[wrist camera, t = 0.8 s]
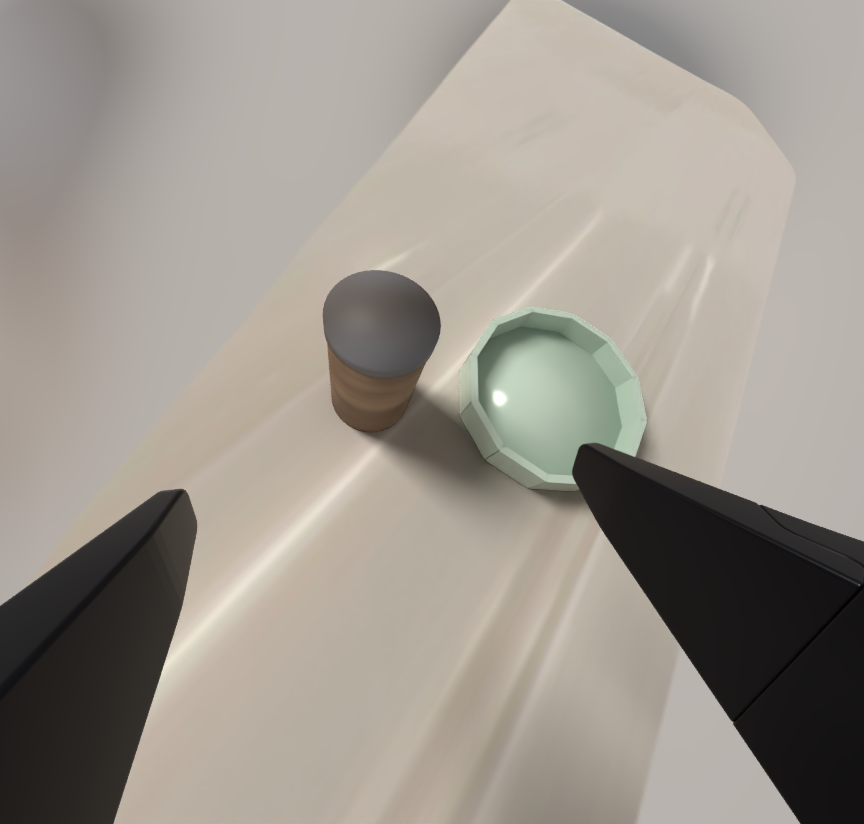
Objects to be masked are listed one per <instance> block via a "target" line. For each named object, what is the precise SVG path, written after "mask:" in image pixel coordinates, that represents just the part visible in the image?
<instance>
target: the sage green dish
mask: <svg viewBox="0 0 864 824" xmlns="http://www.w3.org/2000/svg"><path fill="white" fill-rule="evenodd" d="M459 403H460V417H461V419H462V421H463V422H464V424H465V426H466V428H467V429H468V431H469V433H470V435H471V437H472V438H473V440H474V442H475V444H476V445H477V447H478V449H479V451H480V453H481V454H482V456H483V458H484V459H486V461H487V462H489V463H490V464H492V465H493V466H495V467H496V468H498V469H499V470H501V471H502V472H504V473H505V474H507V475H508V476H510V477H511V478H513V479H514V480H516V481H517V482H519V483H520V484H522V485H523V486H525V487H526V488H529V489H545V490H561V491H577V490H579V488H578V486H577V484H576V483H575V481H574V479H573V476H572V468H573V465H574V461H575V458H576V455H577V451H578V449H579V447H580V446H581V445H582V444H586V443H599V444H602V445H605V446H607V447H610V448H613V449H615V450H618V451H621V452H623V453H626V454H628V455H631V456H634V457H635V456H636V453H637V450H638V447H639V444H640V441H641V438H642V435H643V432H644V430H645V427H646V424H647V418H646V413H645V408H644V403H643V398H642V393H641V388H640V383H639V378H638V376H637V374H636V373H635V372H634V370H633V369H632V367H631V366H630V365H629V363H628V362H627V360H626V359H625V357H624V356H623V355H622V353H621V352H620V350H619V349H618V347H617V346H616V345H615V343H614V342H613V340H612V339H611V338H610V337H608V336H607V335H605V334H604V333H602V332H601V331H599V330H598V329H596V328H594V327H593V326H591V325H590V324H588V323H587V322H585V321H584V320H582V319H581V318H579V317H578V316H576V315H575V314H572V313H569V312H563V311H557V310H551V309H545V308H539V307H533V306H531V307H530V306H529V307H526V308H524V309H521V310H518V311H515V312H513V313H510V314H507V315H505V316H502V317H499V318H496V319H494V320H492V322H491V323H490V325H489V326H488V328H487V329H486V331H485V332H484V334H483V335H482V337H481V338H480V340H479V341H478V343H477V344H476V346H475V347H474V349H473V350H472V352H471V353H470V355H469V356H468V358H467V360H466V361H465V363H464V364H463V366H462V367H461V369H460V371H459Z"/></svg>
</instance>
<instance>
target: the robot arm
mask: <svg viewBox="0 0 864 824" xmlns="http://www.w3.org/2000/svg"><path fill="white" fill-rule="evenodd" d="M572 476H573V479H574V481H575V483H576V484H577V486H578V488H579V490H580V492H581V493H582V495H583V497H584V499H585V501H586V503H587V504H588V506H589V508H590V510H591V512H592V513H593V515H594V517H595V519H596V521H597V522H598V524H599V526H600V528H601V529H602V531H603V532H604V534H605V535H606V537H607V538H608V540H609V541H610V543H611V544H612V546H613V547H614V549H615V550H616V552H617V553H618V555H619V556H620V558H621V559H622V561H623V562H624V564H625V565H626V566H627V568H628V569H629V571H630V572H631V574H632V575H633V577H634V578H635V580H636V581H637V583H638V584H639V586H640V587H641V589H642V590H643V592H644V593H645V594H646V596H647V597H648V599H649V600H650V602H651V603H652V605H653V606H654V608H655V609H656V611H657V612H658V614H659V615H660V617H661V618H662V620H663V621H664V622H665V624H666V625H667V627H668V628H669V630H670V631H671V633H672V634H673V636H674V637H675V639H676V640H677V642H678V643H679V645H680V646H681V648H682V649H683V650H684V652H685V653H686V655H687V656H688V658H689V659H690V661H691V662H692V664H693V665H694V667H695V668H696V669H697V671H698V673H699V674H700V676H701V677H702V678H703V680H704V681H705V683H706V684H707V686H708V687H709V689H710V690H711V692H712V693H713V695H714V696H715V698H716V699H717V701H718V702H719V704H720V705H721V706H722V708H723V709H724V711H725V712H726V714H727V715H728V717H729V718H730V720H731V721H733V725H734V726H735V728H736V729H737V730H738V732H739V734H740V735H741V737H742V738H743V739H744V741H745V742H746V744H747V745H748V747H749V748H750V750H751V751H752V753H753V754H754V756H755V757H756V759H757V760H758V762H759V763H760V765H761V766H762V768H763V769H764V770H765V772H766V773H767V775H768V776H769V778H770V779H771V781H772V782H773V784H774V785H775V787H776V788H777V790H778V791H779V793H780V794H781V796H782V797H783V799H784V800H785V802H786V803H787V804H788V806H789V807H790V809H791V810H792V812H793V813H794V815H795V816H796V818H797V819H798V821H799V822H800V824H864V542H863V541H861V540H857V539H855V538H852V537H849V536H846V535H843V534H840V533H837V532H834V531H832V530H829V529H826V528H823V527H820V526H817V525H814V524H811V523H809V522H806V521H803V520H801V519H798V518H795V517H792V516H790V515H787V514H784V513H782V512H779V511H776V510H773V509H771V508H768V507H766V506H763V505H758V504H757V503H755V502H752V501H750V500H747V499H744V498H742V497H739V496H737V495H734V494H731V493H729V492H726V491H723V490H721V489H718V488H716V487H713V486H710V485H708V484H705V483H702V482H700V481H697V480H694V479H692V478H689V477H687V476H684V475H681V474H679V473H676V472H673V471H671V470H668V469H665V468H663V467H660V466H658V465H655V464H652V463H650V462H647V461H644V460H642V459H639V458H636V457H634V456H631V455H628V454H626V453H623V452H621V451H618V450H615V449H613V448H610V447H607V446H605V445H602V444H599V443H586V444H582V445H581V446H580V447H579V449H578V451H577V455H576V458H575V461H574V465H573V468H572ZM196 533H197V520H196V516H195V513H194V510H193V507H192V504H191V501H190V498H189V495H188V493H187V492H186V490H184V489H174V490H165V491H160V492H158V493H157V494H155V495H154V496H152V497H151V498H150V499H148V500H147V501H145V502H144V503H143V504H141V505H140V506H138V507H137V508H136V509H134V510H133V511H131V512H130V513H129V514H127V515H126V516H124V517H123V518H122V519H120V520H119V521H118V522H116V523H115V524H113V525H112V526H111V527H109V528H108V529H106V530H105V531H104V532H102V533H101V534H99V535H98V536H97V537H95V538H94V539H93V540H91V541H90V542H88V543H87V544H86V545H84V546H83V547H81V548H80V549H79V550H77V551H76V552H74V553H73V554H72V555H70V556H69V557H67V558H66V559H65V560H63V561H62V562H61V563H59V564H58V565H56V566H55V567H54V568H52V569H51V570H49V571H48V572H47V573H45V574H44V575H42V576H41V577H40V578H38V579H37V580H35V581H34V582H33V583H31V584H30V585H29V586H27V587H26V588H24V589H23V590H22V591H20V592H19V593H17V594H16V595H15V596H13V597H12V598H11V599H9V600H8V601H7V602H5V603H4V604H2V605H1V606H0V824H113V823H114V820H115V817H116V814H117V811H118V807H119V804H120V801H121V798H122V795H123V792H124V789H125V785H126V782H127V779H128V776H129V773H130V770H131V767H132V763H133V760H134V757H135V754H136V751H137V748H138V745H139V742H140V738H141V735H142V732H143V729H144V726H145V723H146V720H147V716H148V713H149V710H150V707H151V704H152V701H153V698H154V694H155V691H156V688H157V685H158V682H159V679H160V676H161V672H162V669H163V666H164V663H165V660H166V657H167V654H168V650H169V647H170V644H171V641H172V638H173V635H174V632H175V628H176V625H177V622H178V619H179V616H180V612H181V609H182V605H183V600H184V596H185V591H186V586H187V581H188V575H189V570H190V565H191V560H192V554H193V549H194V544H195V539H196Z"/></svg>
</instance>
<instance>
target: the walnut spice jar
mask: <svg viewBox="0 0 864 824" xmlns="http://www.w3.org/2000/svg"><path fill="white" fill-rule="evenodd" d="M323 324H324V333H325V337H326V341H327V345H328V357H329V370H330V382H331V395H332V403H333V407H334V409H335V411H336V413H337V415H338V416H339V417H340V419H341V420H342V421H343V422H345V423H346V424H347V425H349V426H351V427H352V428H355V429H357V430H361V431H366V432H375V431H381V430H384V429H387V428H389V427H391V426H392V425H394V424H395V423H396V422H397V421H398V420H399V419H400V418H401V417H402V415H403V413H404V411H405V409H406V407H407V404H408V402H409V400H410V398H411V395H412V393H413V391H414V388H415V386H416V384H417V381H418V379H419V377H420V375H421V372H422V370H423V368H424V365H425V363H426V361H427V360H428V359H429V358H430V356H431V354H432V353H433V350H434V348H435V346H436V344H437V341H438V339H439V335H440V328H441V324H440V316H439V312H438V310H437V307H436V305H435V303H434V301H433V300H432V298H431V297H430V296H429V294H428V293H427V292H426V291H425V290H424V289H423V288H422V287H421V286H419V285H418V284H417V283H415V282H414V281H412V280H410V279H409V278H407V277H404V276H402V275H399V274H396V273H393V272H388V271H381V270H371V271H363V272H358V273H355V274H352V275H350V276H348V277H346V278H344V279H343V280H341V281H340V282H339V283H338V284H336V285H335V286H334V288H333V289H332V290H331V291H330V293H329V294H328V296H327V298H326V301H325V303H324V308H323Z"/></svg>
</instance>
